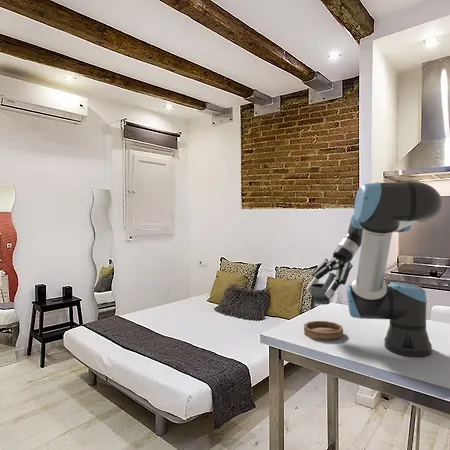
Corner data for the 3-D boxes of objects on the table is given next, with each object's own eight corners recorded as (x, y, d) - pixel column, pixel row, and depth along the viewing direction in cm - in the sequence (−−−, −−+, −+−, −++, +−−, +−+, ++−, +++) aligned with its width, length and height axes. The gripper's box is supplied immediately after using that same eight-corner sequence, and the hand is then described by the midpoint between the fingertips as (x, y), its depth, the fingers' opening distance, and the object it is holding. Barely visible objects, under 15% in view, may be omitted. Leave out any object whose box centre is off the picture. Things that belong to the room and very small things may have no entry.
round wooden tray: (350, 337, 139) (350, 330, 139) (317, 342, 134) (317, 335, 134) (327, 326, 153) (327, 319, 153) (297, 330, 148) (297, 323, 148)
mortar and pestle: (316, 306, 137) (316, 275, 137) (305, 301, 146) (305, 272, 146) (342, 304, 140) (342, 274, 140) (329, 298, 149) (329, 270, 149)
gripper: (372, 260, 140) (343, 305, 133) (330, 255, 160) (303, 294, 153) (362, 248, 137) (333, 293, 130) (321, 244, 157) (294, 283, 150)
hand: (317, 293), depth 142 cm, fingers closed on mortar and pestle, 10 cm apart
